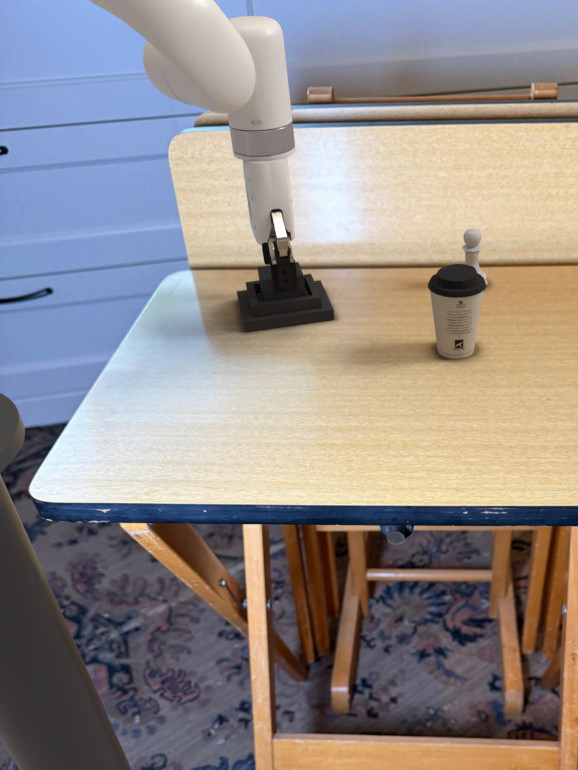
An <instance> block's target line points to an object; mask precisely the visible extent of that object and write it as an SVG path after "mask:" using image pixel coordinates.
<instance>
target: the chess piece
mask: <svg viewBox="0 0 578 770" xmlns="http://www.w3.org/2000/svg"><path fill="white" fill-rule="evenodd" d="M462 237H463V242H464V245H463V246H461V249H462V250H463V251H464V258H465V260H464V261H465V262H464V264H465V265H470V266H473V267H474V268H475V269H476V271H477V273H478V274H480V275H481V276H482V277H483V278H484V280H485V282H486V286H487V285H488V280H487V278H488V277H487V273H485V272H484V271H483V270H482V269H481V268H480V267H481V266H480V264H479V255H480V251H481V250H482V249H483V246H482V245H480V243H481V241H482V233H481V231H480V230H479V229H477V228H468V229H467V230H465V231H464V233H463V236H462Z"/></svg>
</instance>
